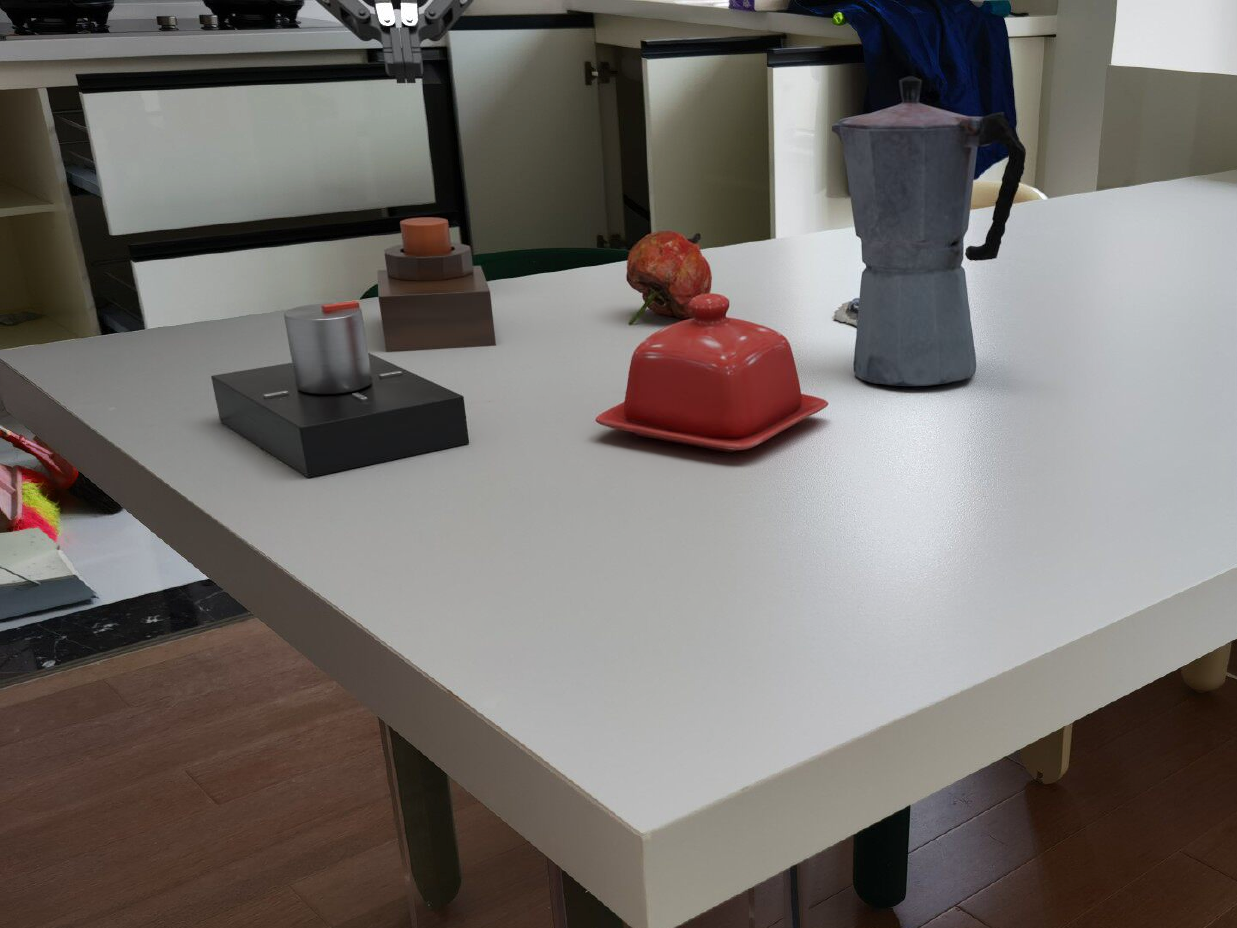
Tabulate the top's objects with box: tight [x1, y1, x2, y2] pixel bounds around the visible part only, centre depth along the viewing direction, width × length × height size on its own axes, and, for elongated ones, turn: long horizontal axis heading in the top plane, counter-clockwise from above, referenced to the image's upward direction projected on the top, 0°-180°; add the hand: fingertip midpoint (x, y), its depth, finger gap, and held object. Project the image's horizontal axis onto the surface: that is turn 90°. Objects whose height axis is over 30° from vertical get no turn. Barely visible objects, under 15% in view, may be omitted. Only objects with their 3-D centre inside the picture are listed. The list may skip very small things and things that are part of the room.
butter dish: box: [595, 292, 829, 453], centre depth 87 cm, size 12×12×8 cm
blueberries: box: [832, 297, 860, 327], centre depth 117 cm, size 7×8×2 cm
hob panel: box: [210, 352, 470, 479], centre depth 86 cm, size 14×10×3 cm
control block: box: [377, 242, 497, 353], centre depth 109 cm, size 11×8×6 cm
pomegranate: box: [625, 230, 713, 326], centre depth 114 cm, size 7×7×10 cm
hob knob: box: [283, 300, 372, 394], centre depth 85 cm, size 4×4×5 cm
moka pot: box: [831, 75, 1027, 387], centre depth 97 cm, size 10×15×20 cm, turn 59°
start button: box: [399, 216, 452, 255], centre depth 109 cm, size 4×4×2 cm
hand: (405, 75), depth 109 cm, fingers closed
